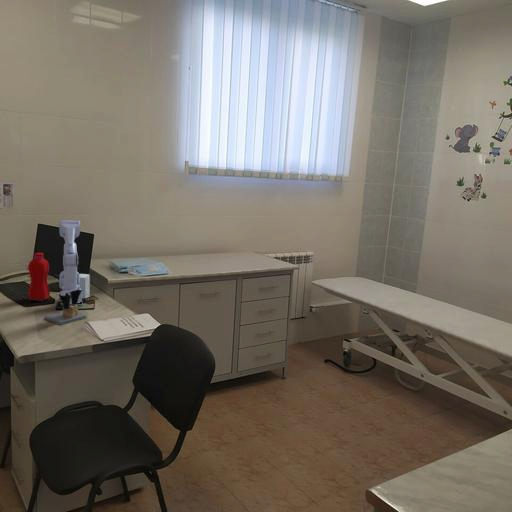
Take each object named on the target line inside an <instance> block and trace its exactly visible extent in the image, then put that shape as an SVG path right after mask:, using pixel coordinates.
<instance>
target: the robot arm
mask: <svg viewBox="0 0 512 512" xmlns="http://www.w3.org/2000/svg"><path fill="white" fill-rule="evenodd" d="M58 222H59V223H58V226H59V227H58V228H59V229H58V231H59V237H62V238H63V239H64V244H63V255H62V258H63V259H62V264H63V270H62V271H61V272H60V273H59V278H58V279H59V285H58V286H59V288H60V289H61V290H60V293H59V294H58V297H59V299H60V301H61V304H63V307H64V309H69V304H76V305H77V303H80V302H82V303H83V301H82V290H81V289H80V274H81V273H79V272H78V265H79V255H78V251H77V250H78V249H77V243H76V242H75V239H76V238H78V237H79V236H80V233H81V221H80V220H79V219H78V220H71V219H70V220H69V219H68V220H66V219H65V220H64V219H63V220H61V219H60V220H58ZM63 307H62V308H63Z"/></svg>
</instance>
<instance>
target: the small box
mask: <svg viewBox="0 0 512 512" xmlns="http://www.w3.org/2000/svg"><path fill="white" fill-rule="evenodd" d="M79 274H80V289H81V290H82V298H87V297H89V298H90V296H91V295H90V294H91V293H90V291H91V289H90V288H91V287H90V286H91V285H90V283H91V282H90V280H91V279H90V278H91V277H90V274H89V273H88V274H87V273H79Z"/></svg>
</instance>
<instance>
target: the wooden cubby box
mask: <svg viewBox="0 0 512 512" xmlns="http://www.w3.org/2000/svg"><path fill="white" fill-rule="evenodd" d="M69 305H72V306H73V307H69V309H64V307H62V312H63V317H71V318H73V317H75V316H77V315H78V313H79V306H78V305H76V304H69Z"/></svg>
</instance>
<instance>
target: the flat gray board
mask: <svg viewBox="0 0 512 512" xmlns="http://www.w3.org/2000/svg"><path fill="white" fill-rule="evenodd" d="M86 318H87V315H86V314H83V313H80V312H78V315H77V316H75V317H73V318H71V317H63V311H62V312H61V311H60V312H58V313H54V314H52V313H51V314H49V315H44V320H47V321H49V322H52V323H54V324H57V325H64V324H69V323H72V322H76V321H80V320H84V319H86Z"/></svg>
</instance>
